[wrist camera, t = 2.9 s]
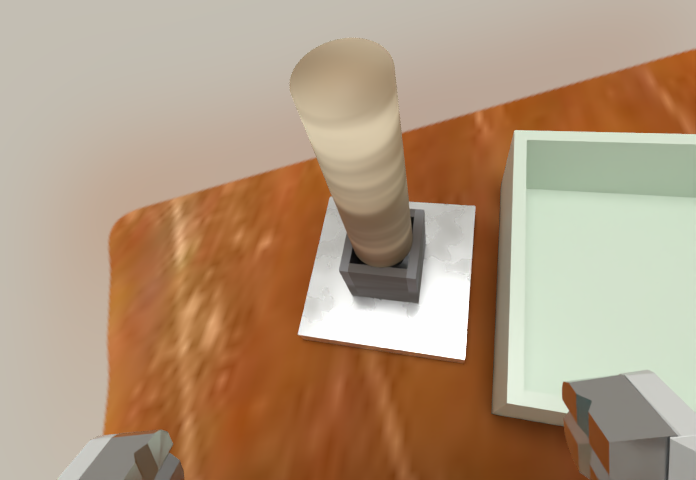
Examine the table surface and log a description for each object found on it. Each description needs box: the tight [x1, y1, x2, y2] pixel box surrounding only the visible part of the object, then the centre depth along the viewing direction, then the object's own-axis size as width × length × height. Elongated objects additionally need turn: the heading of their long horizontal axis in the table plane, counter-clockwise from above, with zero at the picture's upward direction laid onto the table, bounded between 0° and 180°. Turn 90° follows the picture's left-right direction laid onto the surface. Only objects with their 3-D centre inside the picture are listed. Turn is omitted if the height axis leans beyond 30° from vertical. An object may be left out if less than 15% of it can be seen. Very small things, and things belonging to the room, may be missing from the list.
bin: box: [492, 130, 696, 427], centre depth 27 cm, size 18×18×7 cm
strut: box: [290, 38, 426, 304], centre depth 24 cm, size 5×5×19 cm
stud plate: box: [298, 197, 475, 364], centre depth 31 cm, size 12×12×6 cm
